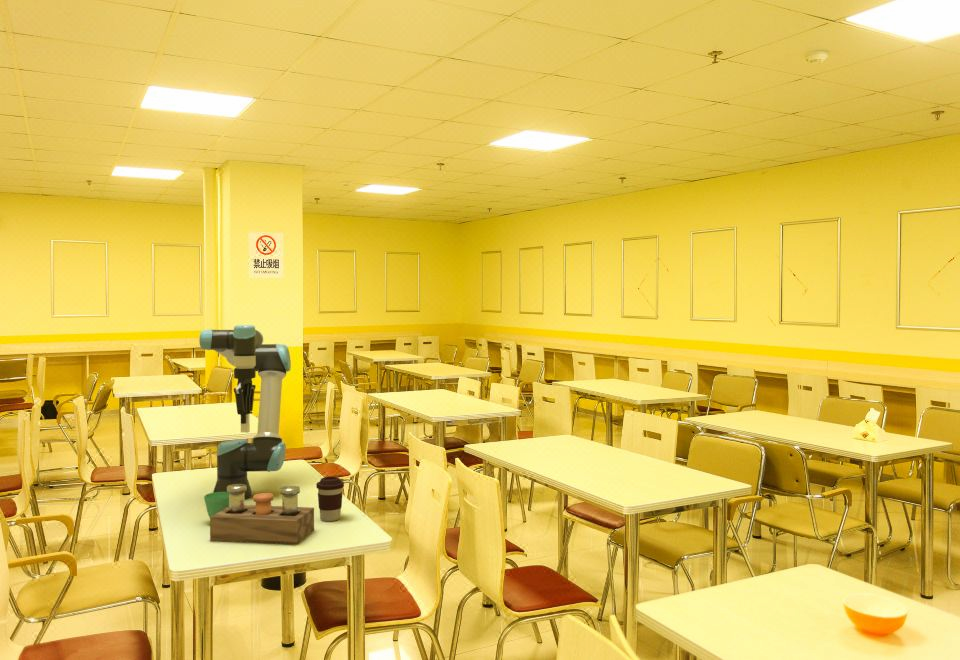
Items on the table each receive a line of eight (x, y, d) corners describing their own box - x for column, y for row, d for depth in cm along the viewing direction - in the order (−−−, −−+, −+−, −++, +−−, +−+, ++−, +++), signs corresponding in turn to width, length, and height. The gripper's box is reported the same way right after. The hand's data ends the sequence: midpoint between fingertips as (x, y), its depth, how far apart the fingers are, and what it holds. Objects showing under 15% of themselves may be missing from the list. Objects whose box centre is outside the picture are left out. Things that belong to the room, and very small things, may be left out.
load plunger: (258, 523, 249) (258, 492, 249) (276, 523, 248) (276, 493, 248) (250, 528, 243) (250, 497, 243) (268, 529, 242) (268, 498, 242)
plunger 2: (284, 516, 248) (284, 485, 248) (302, 516, 247) (302, 486, 247) (277, 521, 242) (277, 490, 241) (295, 522, 241) (295, 490, 240)
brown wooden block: (232, 526, 256) (232, 504, 255) (314, 530, 252) (314, 507, 252) (210, 540, 240) (210, 517, 240) (296, 545, 236) (296, 520, 236)
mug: (214, 528, 254) (214, 500, 253) (198, 523, 259) (198, 495, 259) (250, 518, 265) (250, 491, 265) (234, 514, 271) (234, 487, 271)
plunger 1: (232, 513, 250) (232, 483, 250) (249, 514, 250) (249, 484, 249) (223, 519, 244) (223, 488, 244) (241, 519, 243) (241, 488, 243)
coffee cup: (330, 524, 259) (330, 482, 258) (310, 520, 264) (310, 479, 264) (349, 517, 267) (349, 477, 267) (329, 513, 272) (329, 474, 272)
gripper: (243, 365, 269) (243, 428, 269) (226, 368, 256) (226, 434, 257) (262, 366, 268) (262, 429, 269) (246, 369, 255) (246, 435, 256)
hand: (245, 432), depth 263 cm, fingers closed
